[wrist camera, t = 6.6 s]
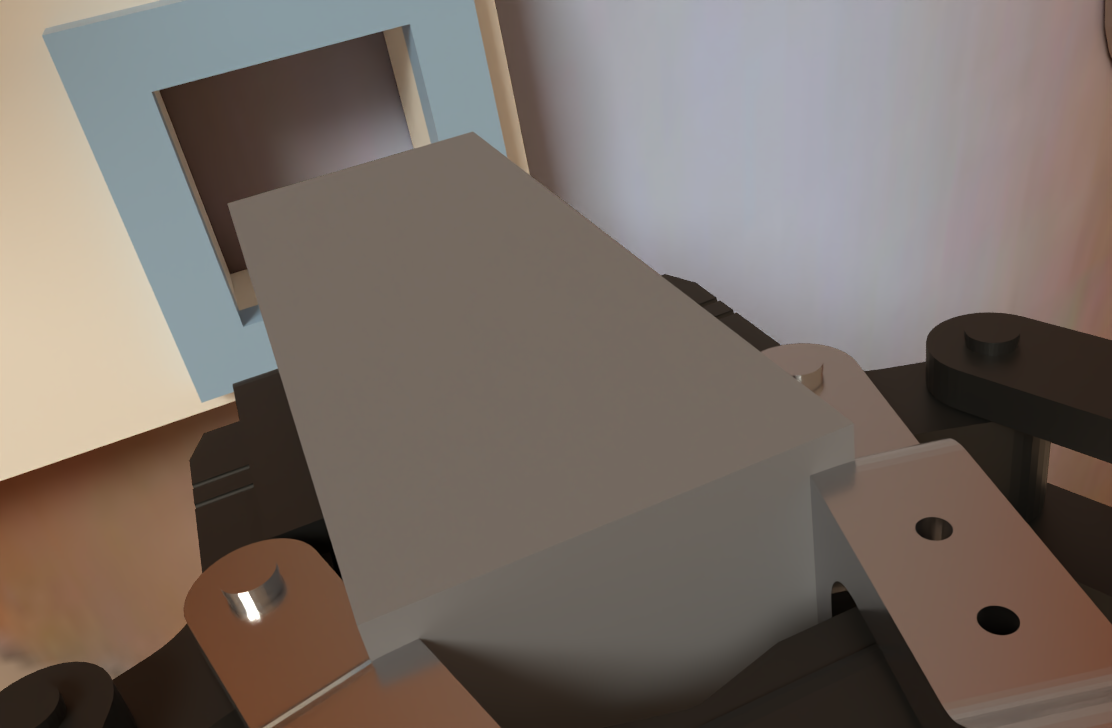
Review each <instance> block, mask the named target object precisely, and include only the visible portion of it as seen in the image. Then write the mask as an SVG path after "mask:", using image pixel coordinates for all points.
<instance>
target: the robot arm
mask: <svg viewBox="0 0 1112 728" xmlns="http://www.w3.org/2000/svg"><path fill="white" fill-rule="evenodd" d="M1105 30H1106V36H1107V43H1108V49H1109V53H1110V55H1111V58H1112V0H1105ZM661 276H662V277H664V278H665V279H666V280H667V281H669V282H670V283H671V284H673V285H674V286H675V287H677V288H678V289H679V290H680V291H682V292H683V293H684V294H686V295H687V296H688V297H690V298H691V299H692V300H694V301H695V302H696V303H697V304H699V305H700V306H701V307H703V308H704V309H705V310H707V311H708V312H709V313H710V314H712V315H713V316H714V317H716V318H717V319H718V320H720V321H721V322H722V323H724V324H725V325H726V326H727V327H729V328H730V329H731V330H733V331H734V332H735V333H737V334H738V335H739V336H740V337H742V338H743V339H744V340H746V341H747V342H748V343H750V344H751V345H752V346H753V347H755V348H756V349H757V350H759V351H760V352H761V353H763V354H764V355H765V356H767V357H768V358H769V359H770V360H772V361H773V362H774V363H776V364H777V365H778V366H780V367H781V368H782V369H783V370H785V371H786V372H787V373H789V374H790V375H791V376H793V377H794V378H795V379H797V380H798V381H799V382H800V383H802V384H803V385H804V386H806V387H807V388H808V389H810V390H811V391H812V392H813V393H815V394H816V395H817V396H819V397H820V398H821V399H823V400H824V401H825V402H827V403H828V404H829V405H830V406H832V407H833V408H834V409H836V410H837V411H838V412H840V413H841V414H842V415H843V416H845V417H846V418H847V419H849V420H850V421H851V422H853V423H854V448H855V460H854V461H851V462H848V463H845V464H841V465H838V466H835V467H833V468H830V469H827V470H824V471H821V472H818V473H816V474H813V475H810V489H811V507H812V525H813V543H814V561H815V579H816V597H817V615H818V624H817V625H815V626H812V627H810V628H808V629H806V630H804V631H802V632H799V633H797V634H795V635H793V636H791V637H789V638H786V639H784V640H782V641H780V642H778V643H776V644H775V645H774V646H773V647H771V648H770V649H769V650H768V651H766V652H765V653H764V654H763V655H761V656H760V657H759V658H758V659H756V660H755V661H754V662H753V663H751V664H750V665H749V666H748V667H746V668H745V669H744V670H743V671H741V672H740V673H739V674H738V675H736V676H735V677H734V678H733V679H731V680H730V681H729V682H728V683H726V684H725V685H724V686H723V687H721V688H720V689H719V690H718V691H716V692H715V693H714V694H713V695H711V696H710V697H709V698H708V699H706V700H705V701H704V702H702V703H701V704H699V705H697V706H695V707H693V708H689V709H686V710H682V711H677V712H673V713H668V714H664V715H659V716H655V717H650V718H645V719H641V720H636V721H632V722H627V723H622V724H618V725H613V726H609V727H604V728H1112V507H1110V506H1107V505H1104V504H1102V503H1099V502H1096V501H1094V500H1091V499H1089V498H1086V497H1083V496H1081V495H1078V494H1075V493H1073V492H1070V491H1068V490H1065V489H1062V488H1060V487H1057V486H1054V485H1052V484H1049V483H1047V474H1048V464H1049V454H1050V444H1051V442H1052V443H1054V444H1057V445H1060V446H1063V447H1066V448H1069V449H1072V450H1074V451H1077V452H1080V453H1083V454H1086V455H1089V456H1092V457H1094V458H1097V459H1100V460H1103V461H1106V462H1109V463H1111V464H1112V340H1109V339H1105V338H1101V337H1097V336H1093V335H1090V334H1086V333H1082V332H1078V331H1075V330H1071V329H1067V328H1063V327H1060V326H1056V325H1052V324H1048V323H1045V322H1041V321H1037V320H1033V319H1029V318H1026V317H1022V316H1017V315H1012V314H1005V313H974V314H967V315H962V316H958V317H954V318H951V319H949V320H946V321H944V322H942V323H940V324H939V325H937V326H936V327H935V328H934V329H932V330H931V332H930V333H929V335H928V336H927V341H926V362H922V363H916V364H910V365H904V366H898V367H892V368H885V369H879V370H871V371H863V370H862V368H861V367H860V366H859V364H858V363H857V362H856V361H855V360H854V359H853V358H852V357H851V356H849V355H848V354H847V353H845V352H843V351H841V350H838V349H836V348H833V347H829V346H825V345H820V344H810V343H797V344H787V345H780V344H779V343H777V342H776V341H774V340H773V339H772V338H770V337H769V336H768V335H766V334H765V333H764V332H762V331H761V330H760V329H758V328H757V327H755V326H754V325H753V324H751V323H750V322H749V321H747V320H746V319H745V318H743V317H742V316H740V315H739V314H738V313H735V314H734V313H733V310H732V309H731V308H730V307H728V306H727V305H725V304H724V303H723V302H721V301H717V299H716V297H715V296H713V295H712V294H710V293H709V292H708V291H706V290H705V289H704V288H702V287H701V286H700V285H698V284H697V283H695V282H691V281H688V280H684V279H680V278H677V277H673V276H669V275H666V274H664V275H661ZM233 391H234V395H235V400H236V405H237V409H238V414H239V419H240V421H239V422H236V423H233V424H230V425H227V426H224V427H221V428H218V429H215V430H213V431H210V432H207V433H204V434H203V436H202V438H201V440H200V442H199V444H198V445H197V447H196V449H195V451H194V453H193V455H192V457H191V459H190V469H191V477H192V485H193V488H194V489H193V495H194V504H195V507H196V509H195V513H196V522H197V530H198V539H199V548H200V557H201V566H202V574H201V575H200V576H199V578H198V579H197V580H196V581H195V582H194V584H193V585H192V587H191V589H190V590H189V592H188V594H187V597H186V599H185V604H184V617H185V619H186V622H187V624H186V625H185V627H184V628H183V629H182V630H181V631H180V632H179V633H178V634H177V635H176V636H175V637H174V638H173V639H172V640H171V641H169V642H168V643H167V644H166V645H165V646H163V647H162V648H161V649H159V650H158V651H156V652H155V653H154V654H152V655H151V656H149V657H148V658H146V659H145V660H143V661H142V662H140V663H138V664H137V665H135V666H134V667H132V668H131V669H129V670H127V671H126V672H124V673H123V674H121V675H120V676H118V677H117V678H115V679H113V680H112V679H111V677H110V675H109V674H108V673H107V672H106V671H105V670H104V669H103V668H101V667H99V666H97V665H95V664H91V663H87V662H68V663H62V664H57V665H53V666H49V667H47V668H44V669H41V670H38V671H36V672H34V673H32V674H29V675H27V676H25V677H23V678H21V679H19V680H18V681H16V682H14V683H12V684H11V685H9V686H8V687H6V688H5V689H3V690H2V691H1V692H0V728H501V727H500V726H499V725H498V724H497V723H496V722H495V721H494V719H493V718H492V717H491V716H490V715H489V714H488V713H487V712H486V711H485V710H484V709H483V707H482V706H481V705H480V704H479V703H478V702H477V701H476V700H475V699H474V698H473V697H472V695H471V694H470V693H469V692H468V691H467V690H466V689H465V688H464V687H463V686H462V685H461V683H460V682H459V681H458V680H457V679H456V678H455V677H454V676H453V675H452V674H451V673H450V671H449V670H448V669H447V668H446V667H445V666H444V665H443V664H442V663H441V662H440V661H439V659H438V658H437V657H436V656H435V655H434V654H433V653H432V652H431V651H430V650H429V649H428V647H427V646H426V645H425V644H424V643H423V642H422V641H421V640H420V639H417V640H415V641H412V642H410V643H408V644H406V645H404V646H402V647H400V648H398V649H396V650H393V651H391V652H389V653H387V654H385V655H383V656H381V657H379V658H377V659H375V660H373V661H370V658H369V655H368V653H367V650H366V648H365V645H364V643H363V640H362V637H361V635H360V632H359V630H358V627H357V624H356V621H355V618H354V614H353V611H352V608H351V605H350V601H349V598H348V595H347V592H346V588H345V585H344V582H343V579H342V575H341V572H340V569H339V566H338V562H337V559H336V556H335V553H334V549H333V546H332V543H331V540H330V536H329V533H328V530H327V527H326V523H325V520H324V517H323V513H322V510H321V507H320V504H319V500H318V497H317V494H316V491H315V487H314V484H313V481H312V478H311V474H310V471H309V468H308V465H307V461H306V458H305V455H304V452H303V448H302V445H301V442H300V439H299V435H298V432H297V429H296V425H295V422H294V419H293V416H292V412H291V409H290V406H289V403H288V399H287V396H286V393H285V390H284V386H283V383H282V380H281V377H280V373H279V370H278V369H275V370H272V371H269V372H266V373H263V374H260V375H257V376H254V377H251V378H248V379H245V380H242V381H240V382H237V383H234V384H233Z"/></svg>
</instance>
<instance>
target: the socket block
mask: <svg viewBox="0 0 1112 728" xmlns="http://www.w3.org/2000/svg"><path fill="white" fill-rule="evenodd" d="M381 31H383V33H384V37H385V41H386V45H387V49H388V53H389V56H390V60H391V64H392V68H393V72H394V76H395V79H396V83H397V87H398V91H399V95H400V98H401V102H402V106H403V110H404V114H405V118H406V121H407V125H408V129H409V133H410V137H411V141H412V144H413V148H414V149H415V148H418V147H422V146H425V145H428V144H432V143H435V142H439V141H442V140H446V139H449V138H452V137H456V136H459V135H463V134H466V133H469V132H474V133H476V134H477V135H478V136H480V137H481V138H482V139H484V140H485V141H486V142H487V143H489V144H490V145H491V146H493V147H494V148H495V149H497V150H498V151H499V152H501V153H502V154H503V155H504V156H506V157H507V158H508V159H510V160H511V161H512V162H514V163H515V164H516V165H517V166H519V167H520V168H521V169H523V170H524V171H525V172H527V173H528V174H529V169H528V164H527V159H526V154H525V149H524V144H523V139H522V134H521V129H520V124H519V119H518V114H517V109H516V104H515V99H514V94H513V89H512V84H511V79H510V75H509V70H508V65H507V60H506V55H505V50H504V45H503V40H502V35H501V30H500V25H499V20H498V15H497V10H496V5H495V0H0V481H2V480H5V479H8V478H11V477H14V476H17V475H20V474H23V473H25V472H28V471H31V470H34V469H37V468H40V467H43V466H46V465H49V464H52V463H55V462H58V461H61V460H64V459H66V458H69V457H72V456H75V455H78V454H81V453H84V452H87V451H90V450H93V449H96V448H99V447H102V446H105V445H107V444H110V443H113V442H116V441H119V440H122V439H125V438H128V437H131V436H134V435H137V434H140V433H143V432H146V431H148V430H151V429H154V428H157V427H160V426H163V425H166V424H169V423H172V422H175V421H178V420H181V419H184V418H187V417H189V416H192V415H195V414H198V413H201V412H204V411H207V410H210V409H213V408H216V407H219V406H222V405H225V404H227V403H230V402H233V401H236V400H235V395H234V391H233V384H234V383H237V382H240V381H242V380H245V379H248V378H251V377H254V376H257V375H260V374H263V373H266V372H269V371H272V370H275V369H278V367H277V364H276V360H275V357H274V354H273V351H272V347H271V344H270V341H269V337H268V334H267V331H266V328H265V324H264V321H263V318H262V315H261V311H260V308H259V305H258V302H257V298H256V295H255V292H254V289H253V285H252V282H251V279H250V276H249V272H248V269H246V270H243V271H239V272H236V273H233V274H230V273H229V270H228V267H227V265H226V262H225V260H224V257H223V255H222V252H221V249H220V247H219V244H218V242H217V239H216V236H215V234H214V231H213V229H212V226H211V223H210V221H209V218H208V216H207V213H206V211H205V208H204V205H203V203H202V200H201V198H200V195H199V192H198V190H197V187H196V185H195V182H194V179H193V177H192V174H191V172H190V169H189V167H188V164H187V161H186V159H185V156H184V154H183V151H182V148H181V146H180V143H179V141H178V138H177V135H176V133H175V130H174V128H173V125H172V123H171V120H170V117H169V115H168V112H167V110H166V107H165V104H164V102H163V99H162V97H161V94H160V91H159V90H161V89H165V88H169V87H172V86H176V85H180V84H184V83H188V82H191V81H195V80H199V79H203V78H207V77H210V76H214V75H218V74H222V73H226V72H229V71H233V70H237V69H241V68H245V67H248V66H252V65H256V64H260V63H264V62H267V61H271V60H275V59H279V58H283V57H286V56H290V55H294V54H298V53H302V52H305V51H309V50H313V49H317V48H321V47H324V46H328V45H332V44H336V43H339V42H343V41H347V40H351V39H355V38H358V37H362V36H366V35H370V34H374V33H377V32H381ZM529 175H530V174H529Z"/></svg>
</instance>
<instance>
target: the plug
mask: <svg viewBox="0 0 1112 728" xmlns="http://www.w3.org/2000/svg"><path fill="white" fill-rule="evenodd" d="M227 204H228V207H229V210H230V214H231V217H232V220H233V223H234V227H235V230H236V233H237V236H238V240H239V243H240V246H241V249H242V253H243V256H244V259H245V263H246V266H247V269H248V272H249V276H250V279H251V282H252V285H253V289H254V292H255V295H256V298H257V302H258V305H259V308H260V311H261V315H262V318H263V321H264V324H265V328H266V331H267V334H268V337H269V341H270V344H271V347H272V351H273V354H274V357H275V360H276V364H277V367H278V370H279V373H280V377H281V380H282V383H283V386H284V390H285V393H286V396H287V399H288V403H289V406H290V409H291V412H292V416H293V419H294V422H295V425H296V429H297V432H298V435H299V439H300V442H301V445H302V448H303V452H304V455H305V458H306V461H307V465H308V468H309V471H310V474H311V478H312V481H313V484H314V487H315V491H316V494H317V497H318V500H319V504H320V507H321V510H322V513H323V517H324V520H325V523H326V527H327V530H328V533H329V536H330V540H331V543H332V546H333V549H334V553H335V556H336V559H337V562H338V566H339V569H340V572H341V575H342V579H343V582H344V585H345V588H346V592H347V595H348V598H349V601H350V605H351V608H352V611H353V614H354V618H355V621H356V624H357V627H358V630H359V632H360V635H361V637H362V640H363V643H364V645H365V648H366V650H367V653H368V655H369V658H370V661H373V660H375V659H377V658H379V657H381V656H383V655H385V654H387V653H389V652H391V651H393V650H396V649H398V648H400V647H402V646H404V645H406V644H408V643H410V642H412V641H415V640H417V639H420V640H421V641H422V642H423V643H424V644H425V645H426V646H427V647H428V649H429V650H430V651H431V652H432V653H433V654H434V655H435V656H436V657H437V658H438V659H439V661H440V662H441V663H442V664H443V665H444V666H445V667H446V668H447V669H448V670H449V671H450V673H451V674H452V675H453V676H454V677H455V678H456V679H457V680H458V681H459V682H460V683H461V685H462V686H463V687H464V688H465V689H466V690H467V691H468V692H469V693H470V694H471V695H472V697H473V698H474V699H475V700H476V701H477V702H478V703H479V704H480V705H481V706H482V707H483V709H484V710H485V711H486V712H487V713H488V714H489V715H490V716H491V717H492V718H493V719H494V721H495V722H496V723H497V724H498V725H499V726H500V727H501V728H604V727H609V726H613V725H618V724H622V723H627V722H632V721H636V720H641V719H645V718H650V717H655V716H659V715H664V714H668V713H673V712H677V711H682V710H686V709H689V708H693V707H695V706H697V705H699V704H701V703H702V702H704V701H705V700H706V699H708V698H709V697H710V696H711V695H713V694H714V693H715V692H716V691H718V690H719V689H720V688H721V687H723V686H724V685H725V684H726V683H728V682H729V681H730V680H731V679H733V678H734V677H735V676H736V675H738V674H739V673H740V672H741V671H743V670H744V669H745V668H746V667H748V666H749V665H750V664H751V663H753V662H754V661H755V660H756V659H758V658H759V657H760V656H761V655H763V654H764V653H765V652H766V651H768V650H769V649H770V648H771V647H773V646H774V645H775V644H776V643H778V642H780V641H782V640H784V639H786V638H789V637H791V636H793V635H795V634H797V633H799V632H802V631H804V630H806V629H808V628H810V627H812V626H815V625H817V624H818V615H817V597H816V579H815V561H814V543H813V525H812V507H811V489H810V475H813V474H816V473H818V472H821V471H824V470H827V469H830V468H833V467H835V466H838V465H841V464H845V463H848V462H851V461H854V460H855V448H854V423H853V422H851V421H850V420H849V419H847V418H846V417H845V416H843V415H842V414H841V413H840V412H838V411H837V410H836V409H834V408H833V407H832V406H830V405H829V404H828V403H827V402H825V401H824V400H823V399H821V398H820V397H819V396H817V395H816V394H815V393H813V392H812V391H811V390H810V389H808V388H807V387H806V386H804V385H803V384H802V383H800V382H799V381H798V380H797V379H795V378H794V377H793V376H791V375H790V374H789V373H787V372H786V371H785V370H783V369H782V368H781V367H780V366H778V365H777V364H776V363H774V362H773V361H772V360H770V359H769V358H768V357H767V356H765V355H764V354H763V353H761V352H760V351H759V350H757V349H756V348H755V347H753V346H752V345H751V344H750V343H748V342H747V341H746V340H744V339H743V338H742V337H740V336H739V335H738V334H737V333H735V332H734V331H733V330H731V329H730V328H729V327H727V326H726V325H725V324H724V323H722V322H721V321H720V320H718V319H717V318H716V317H714V316H713V315H712V314H710V313H709V312H708V311H707V310H705V309H704V308H703V307H701V306H700V305H699V304H697V303H696V302H695V301H694V300H692V299H691V298H690V297H688V296H687V295H686V294H684V293H683V292H682V291H680V290H679V289H678V288H677V287H675V286H674V285H673V284H671V283H670V282H669V281H667V280H666V279H665V278H664V277H662V276H661V275H660V274H658V273H657V272H656V271H654V270H653V269H652V268H650V267H649V266H648V265H647V264H645V263H644V262H643V261H641V260H640V259H639V258H637V257H636V256H635V255H634V254H632V253H631V252H630V251H628V250H627V249H626V248H624V247H623V246H622V245H620V244H619V243H618V242H617V241H615V240H614V239H613V238H611V237H610V236H609V235H607V234H606V233H605V232H604V231H602V230H601V229H600V228H598V227H597V226H596V225H594V224H593V223H592V222H590V221H589V220H588V219H587V218H585V217H584V216H583V215H581V214H580V213H579V212H577V211H576V210H575V209H574V208H572V207H571V206H570V205H568V204H567V203H566V202H564V201H563V200H562V199H560V198H559V197H558V196H557V195H555V194H554V193H553V192H551V191H550V190H549V189H547V188H546V187H545V186H544V185H542V184H541V183H540V182H538V181H537V180H536V179H534V178H533V177H532V176H530V175H529V174H528V173H527V172H525V171H524V170H523V169H521V168H520V167H519V166H517V165H516V164H515V163H514V162H512V161H511V160H510V159H508V158H507V157H506V156H504V155H503V154H502V153H501V152H499V151H498V150H497V149H495V148H494V147H493V146H491V145H490V144H489V143H487V142H486V141H485V140H484V139H482V138H481V137H480V136H478V135H477V134H476V133H474V132H469V133H466V134H463V135H459V136H456V137H452V138H449V139H446V140H442V141H439V142H435V143H432V144H428V145H425V146H422V147H418V148H415V149H411V150H408V151H405V152H401V153H398V154H394V155H391V156H387V157H384V158H381V159H377V160H374V161H370V162H367V163H364V164H360V165H357V166H353V167H350V168H347V169H343V170H340V171H336V172H333V173H329V174H326V175H323V176H319V177H316V178H312V179H309V180H306V181H302V182H299V183H295V184H292V185H288V186H285V187H282V188H278V189H275V190H271V191H268V192H265V193H261V194H258V195H254V196H251V197H248V198H244V199H241V200H237V201H234V202H230V203H227Z"/></svg>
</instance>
